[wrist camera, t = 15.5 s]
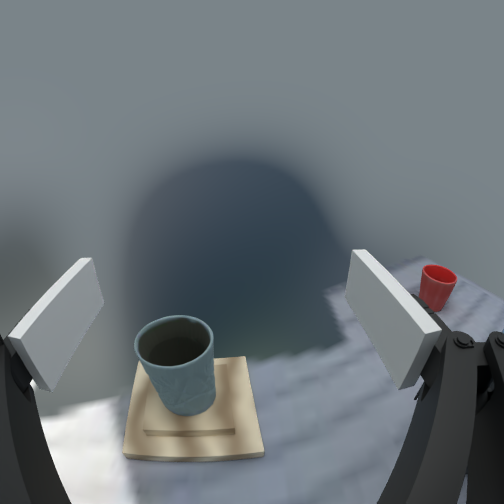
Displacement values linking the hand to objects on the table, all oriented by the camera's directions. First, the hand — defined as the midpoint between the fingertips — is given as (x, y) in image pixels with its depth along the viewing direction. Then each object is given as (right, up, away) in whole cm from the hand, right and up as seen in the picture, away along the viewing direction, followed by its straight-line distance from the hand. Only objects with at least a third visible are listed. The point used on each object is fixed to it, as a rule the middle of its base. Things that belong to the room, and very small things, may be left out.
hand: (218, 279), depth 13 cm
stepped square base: (-8, -24, +25) cm, 36 cm away
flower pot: (+51, -13, +50) cm, 72 cm away
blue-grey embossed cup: (-8, -21, +24) cm, 32 cm away
